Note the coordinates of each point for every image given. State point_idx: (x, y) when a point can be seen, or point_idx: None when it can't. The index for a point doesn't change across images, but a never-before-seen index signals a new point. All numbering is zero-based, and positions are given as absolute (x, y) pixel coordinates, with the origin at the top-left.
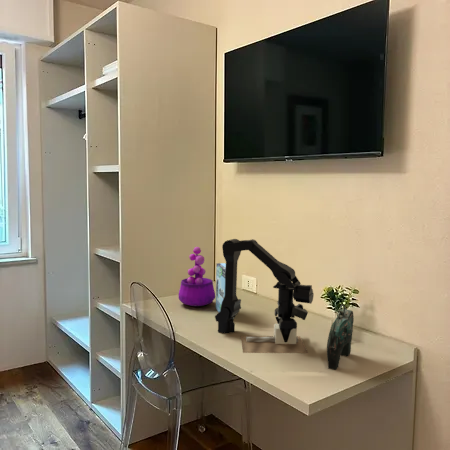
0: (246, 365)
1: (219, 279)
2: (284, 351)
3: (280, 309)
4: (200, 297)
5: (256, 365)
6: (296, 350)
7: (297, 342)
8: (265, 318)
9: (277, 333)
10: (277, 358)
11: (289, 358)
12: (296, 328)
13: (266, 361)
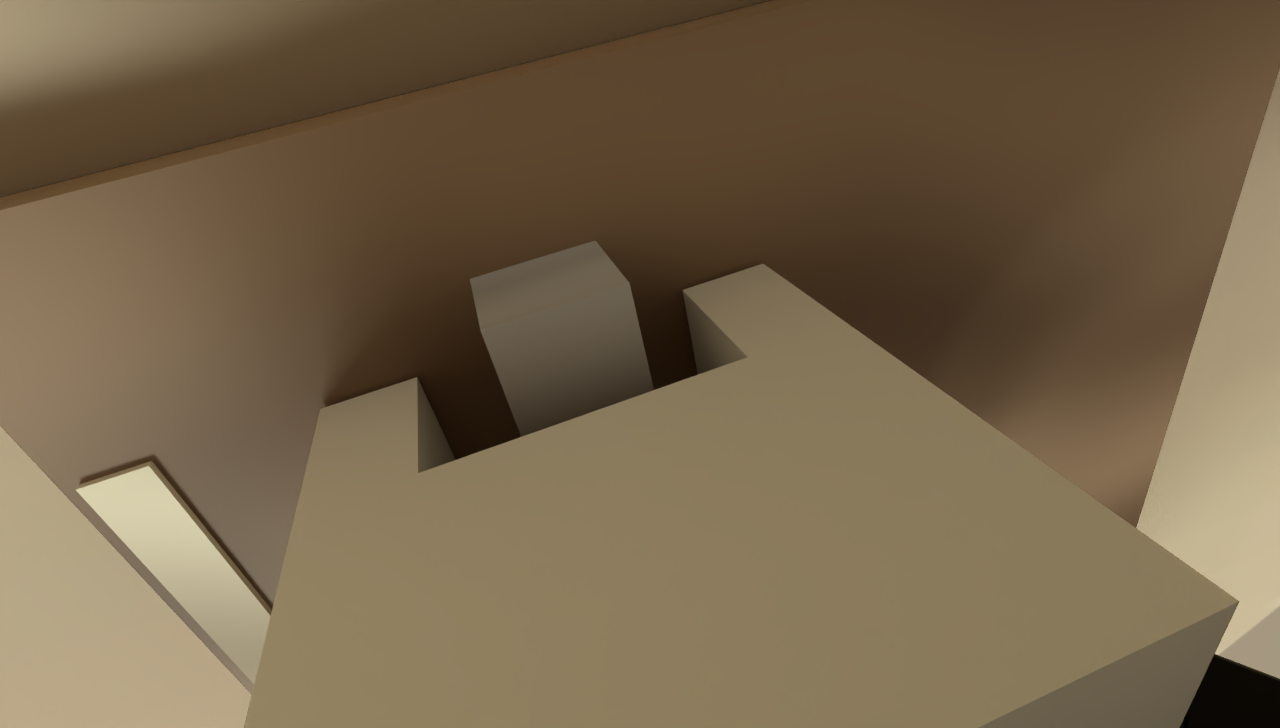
0: (1237, 612)
1: None
2: (1129, 402)
3: None
4: None
5: (1267, 548)
6: (1137, 198)
7: (624, 247)
8: None
9: None
10: (1174, 425)
11: (1222, 271)
12: (1195, 625)
13: (1215, 505)
